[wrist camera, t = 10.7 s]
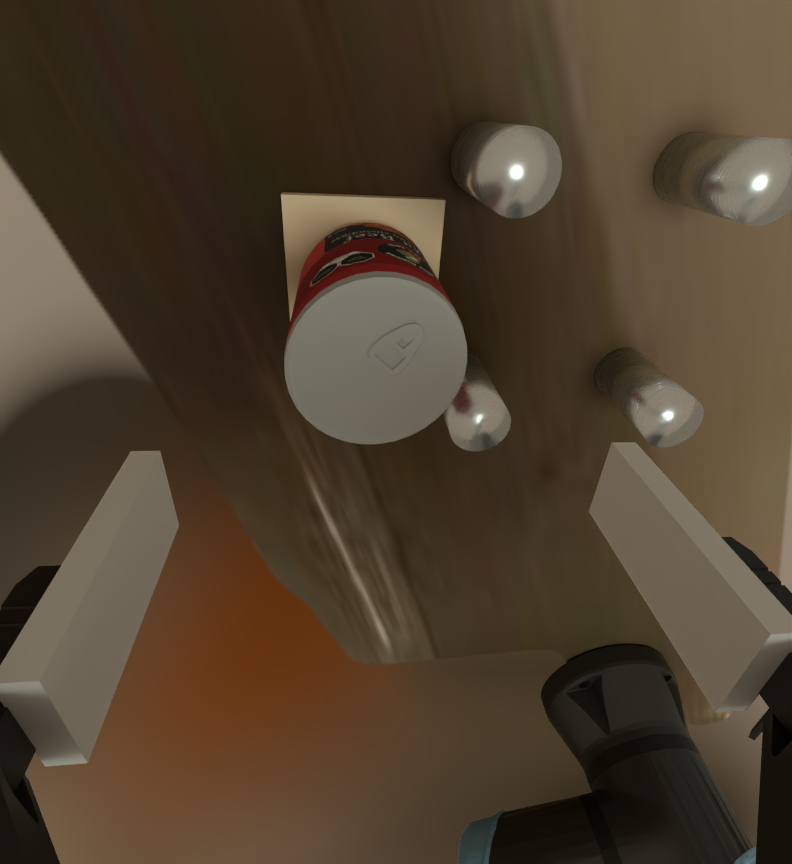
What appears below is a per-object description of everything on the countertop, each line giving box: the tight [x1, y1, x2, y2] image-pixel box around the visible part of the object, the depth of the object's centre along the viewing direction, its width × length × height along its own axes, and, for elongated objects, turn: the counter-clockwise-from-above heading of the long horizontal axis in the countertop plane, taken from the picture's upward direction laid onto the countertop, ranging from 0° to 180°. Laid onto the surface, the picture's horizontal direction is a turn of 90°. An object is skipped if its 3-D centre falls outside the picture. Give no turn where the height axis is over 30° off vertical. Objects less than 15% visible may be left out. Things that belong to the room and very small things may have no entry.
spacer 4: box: [653, 132, 792, 226], centre depth 26 cm, size 4×4×7 cm
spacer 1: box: [450, 121, 562, 218], centre depth 25 cm, size 4×4×7 cm
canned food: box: [284, 223, 467, 444], centre depth 25 cm, size 8×8×11 cm
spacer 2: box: [443, 349, 511, 451], centre depth 32 cm, size 4×4×7 cm
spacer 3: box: [595, 348, 704, 447], centre depth 33 cm, size 4×4×7 cm
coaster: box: [281, 192, 446, 321], centre depth 30 cm, size 10×9×1 cm
